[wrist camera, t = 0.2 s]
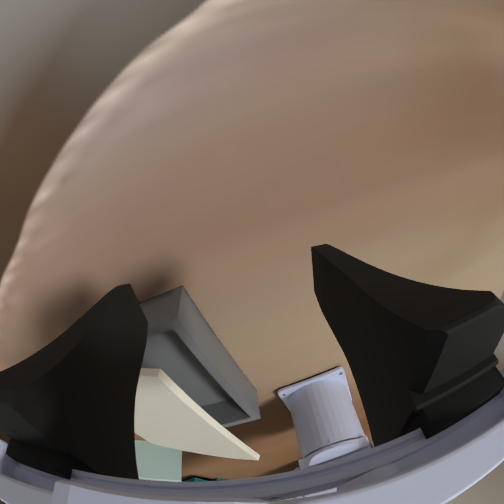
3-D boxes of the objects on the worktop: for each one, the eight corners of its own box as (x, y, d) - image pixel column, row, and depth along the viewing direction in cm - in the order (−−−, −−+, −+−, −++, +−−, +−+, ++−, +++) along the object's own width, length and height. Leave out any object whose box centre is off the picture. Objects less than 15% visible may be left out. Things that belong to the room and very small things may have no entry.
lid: (259, 455, 22) (258, 460, 22) (153, 439, 27) (151, 443, 27) (160, 368, 15) (156, 376, 14) (55, 359, 20) (52, 364, 19)
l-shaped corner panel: (136, 460, 40) (133, 491, 34) (112, 434, 35) (105, 471, 28) (195, 463, 41) (196, 496, 35) (180, 439, 36) (179, 480, 29)
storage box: (256, 389, 29) (260, 418, 26) (156, 413, 31) (153, 439, 27) (182, 285, 22) (177, 317, 19) (69, 331, 23) (55, 358, 20)
